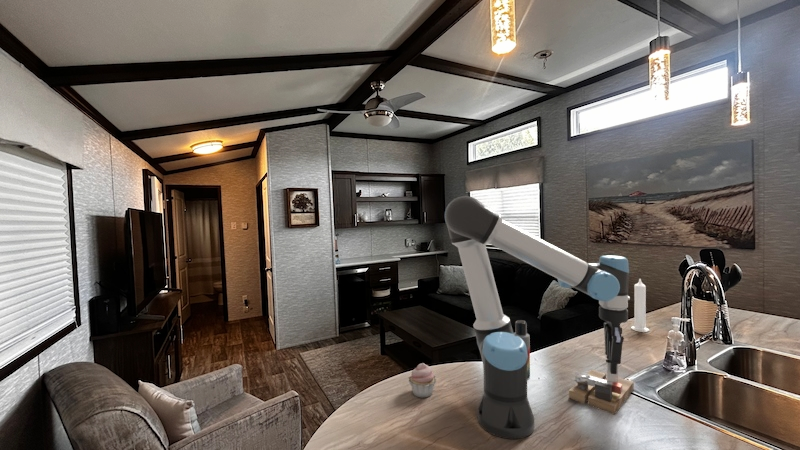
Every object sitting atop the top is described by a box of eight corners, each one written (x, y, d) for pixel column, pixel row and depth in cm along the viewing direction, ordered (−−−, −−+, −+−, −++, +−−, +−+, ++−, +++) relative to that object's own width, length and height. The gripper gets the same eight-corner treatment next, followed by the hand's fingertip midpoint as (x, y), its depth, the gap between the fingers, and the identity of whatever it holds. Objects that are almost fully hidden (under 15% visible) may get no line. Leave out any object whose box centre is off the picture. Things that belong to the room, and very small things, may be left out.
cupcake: (424, 404, 106) (424, 372, 106) (402, 393, 113) (402, 363, 113) (443, 392, 113) (442, 362, 113) (421, 383, 120) (420, 354, 119)
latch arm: (573, 382, 110) (573, 375, 109) (577, 377, 113) (577, 370, 113) (619, 395, 101) (619, 388, 101) (622, 389, 104) (622, 383, 104)
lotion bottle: (531, 380, 120) (530, 323, 119) (514, 379, 121) (513, 323, 120) (528, 373, 125) (528, 318, 125) (512, 372, 126) (511, 318, 126)
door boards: (614, 414, 99) (614, 392, 99) (569, 398, 108) (569, 377, 108) (633, 389, 112) (633, 369, 112) (591, 376, 122) (591, 358, 121)
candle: (634, 326, 172) (634, 276, 172) (650, 329, 167) (651, 278, 166) (629, 329, 168) (629, 278, 167) (646, 333, 162) (646, 280, 162)
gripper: (634, 314, 98) (633, 395, 99) (621, 301, 110) (620, 374, 111) (604, 312, 100) (603, 391, 101) (594, 300, 112) (594, 371, 113)
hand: (612, 382), depth 106 cm, fingers closed
